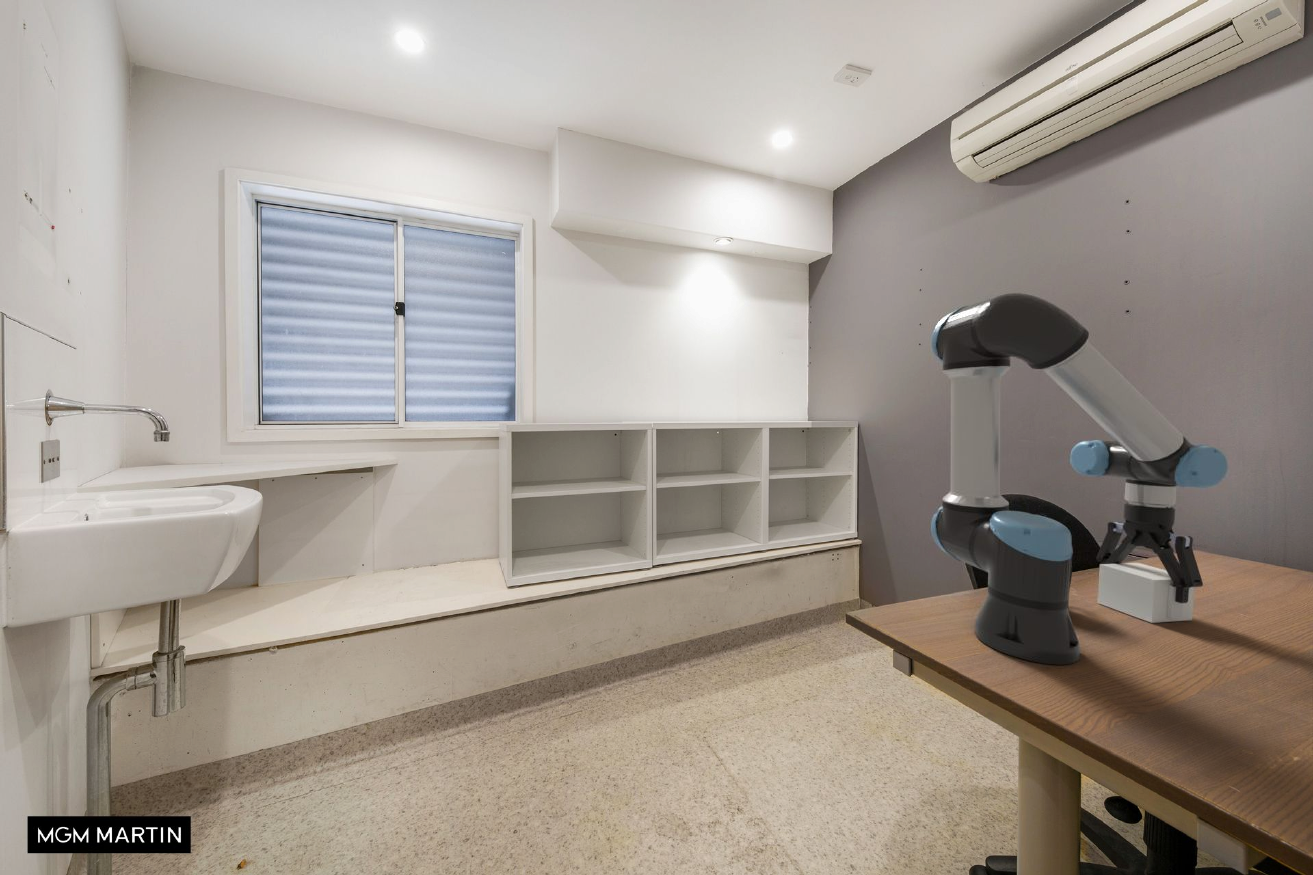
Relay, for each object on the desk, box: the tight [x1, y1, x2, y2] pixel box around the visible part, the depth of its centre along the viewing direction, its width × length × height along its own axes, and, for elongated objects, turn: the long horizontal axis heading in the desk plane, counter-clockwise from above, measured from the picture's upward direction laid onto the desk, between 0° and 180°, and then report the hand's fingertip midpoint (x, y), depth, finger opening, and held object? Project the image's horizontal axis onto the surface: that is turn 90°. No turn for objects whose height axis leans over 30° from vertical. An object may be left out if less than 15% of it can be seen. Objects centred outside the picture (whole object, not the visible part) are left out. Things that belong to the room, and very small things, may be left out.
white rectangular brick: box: [1097, 562, 1195, 624], centre depth 102 cm, size 10×10×9 cm
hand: (1142, 605), depth 102 cm, fingers open, 10 cm apart
